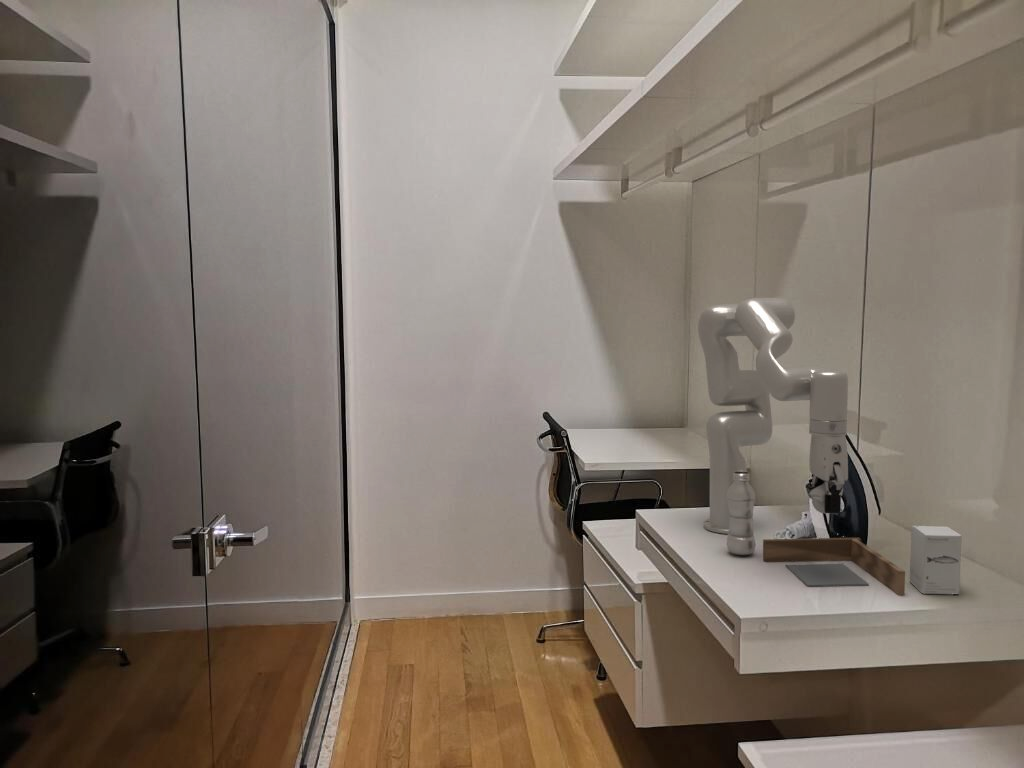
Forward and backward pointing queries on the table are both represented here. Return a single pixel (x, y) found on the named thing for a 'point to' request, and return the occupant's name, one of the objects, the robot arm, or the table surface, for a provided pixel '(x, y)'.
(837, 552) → the corner walls
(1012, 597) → the table surface
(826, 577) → the slate mat
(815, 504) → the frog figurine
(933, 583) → the supplement box
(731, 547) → the plastic bottle
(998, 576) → the table surface
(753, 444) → the robot arm
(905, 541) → the table surface
